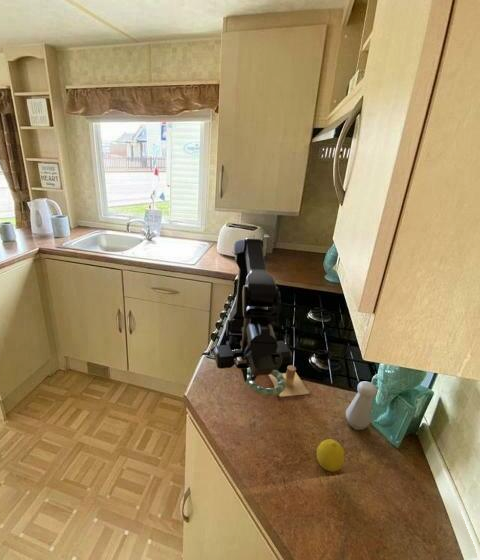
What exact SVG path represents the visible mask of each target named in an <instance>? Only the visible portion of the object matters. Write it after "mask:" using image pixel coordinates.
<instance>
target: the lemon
mask: <svg viewBox="0 0 480 560" xmlns="http://www.w3.org/2000/svg"><path fill="white" fill-rule="evenodd" d="M345 455H346V454H345V451H344V448H343V446H342V445H341V443H339V441H337V440H334V439H332V438H331V439H330V438H327V439H324V440H323V441H321V442H320V444H319V445H318V447H317V449H316V458H317V462H318V464H319V465H320V467H322V469H324V470H326V471H328V472H330V473H331V472H332V473H333V472H337V471H339V470H341V468H342V467H343V466H344V464H345Z"/></svg>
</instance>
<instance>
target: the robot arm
mask: <svg viewBox="0 0 480 560" xmlns="http://www.w3.org/2000/svg"><path fill="white" fill-rule="evenodd" d="M265 244H266V242H265V241H264V239H262V238H260V237H246V238H243V239H238V240H236V241H234V243H233V250H232V251H233V252H232V253H233V256H234V259H235V262H236V265H237V267H238V275H237V286H236V296H235V305H234V308H233V309H232V310H231V311H230V313H229V319H227V320H226V323H225V331H226V332H225V333H226V337H229V340H226V341H225V344H220V345H219V344H218V345H215V346H214V347H213V349H212V355H213V358H214V362H215V364H216V367H217V368H218V369H231V368H233V367H234V366H235V367H236V368H237V369H239V370H240V371H241V375H242V378H243V381H244V382H245V381H246V380H247V369H248V368H249V367H250V368H251V378H252V380H253V382H255V380H256V378H258V377H259V376H269V375H270V374H271V373H272V371H273V370H277V371H279V370H280V368H281V366H282V365H283V364H290V363H291V362H292V360H293V352H292V351H291V349H290V348H289V346H288V344H287V343H286V342H285V341H284V340H277V337H276V335H275V331H274V328H273V326H272V320H276V321H277V320H279V319H280V313H281V312H282V303H281V302H282V301H281V292H280V288H279V287H278V286H277V285H276V282H275V281H276V280H275V278H274V277H273V276H272V275H271V274H270V273H268V271H267V266H266V261H265V251H266V250H265V249H266V245H265ZM272 307H273V309H268V308H272Z"/></svg>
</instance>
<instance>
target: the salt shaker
mask: <svg viewBox="0 0 480 560" xmlns="http://www.w3.org/2000/svg"><path fill="white" fill-rule="evenodd" d="M356 389H357V390H356V391H357V393H356V395H355V396H354V397H353V399H352V401H351V402H350V404H349V405H348V407H347V409H346V410H345V418H346V421H347V424H348V426H350V427H351V428H353V429H354V430H355V431H356V430H357V431H358V430H359V431H362V430H365V429H366V428H368V427H369V426H370V424H371V418H372V408H373V407H372V406H373V399H374V398H376V396H377V395H378V388H377V387H376V385H375V384H373V382H370V381H366V380H365V381H360V382H358V384H357V388H356Z"/></svg>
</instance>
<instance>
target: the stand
mask: <svg viewBox="0 0 480 560" xmlns="http://www.w3.org/2000/svg"><path fill="white" fill-rule="evenodd" d="M296 371H297V367H296V366H294V365H293V364H290V365H288V366H287V367H286V372H283V373H282V372H280V373H281V374H282V375H283V377H284V379H285V381H286V385H285V390H284V391H283V392H281V393H280V394H278V396H279V397H280V398H284V397H295V396H304V395H305V396H306V395H310V394H311V393H310V391H309V389H308V388H307V387H306V385H305V384H304V382H303V381H302V379H301V377H300V376H299V375H298V373H297V372H296ZM268 378H269V379H270V381H271V382H272V384H273V386H274V388H275V387H276V386H278V380H277V379H276V377H274V376H273V375H271V374H270V375H268Z"/></svg>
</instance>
